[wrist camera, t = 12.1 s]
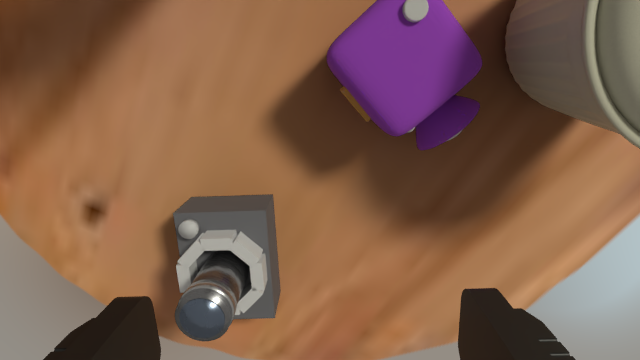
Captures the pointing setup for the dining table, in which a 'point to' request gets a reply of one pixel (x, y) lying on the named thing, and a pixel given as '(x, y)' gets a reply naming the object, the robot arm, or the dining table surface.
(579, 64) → the canister
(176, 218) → the camera body
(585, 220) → the dining table surface
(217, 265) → the lens
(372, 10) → the toy camera
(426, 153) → the dining table surface
